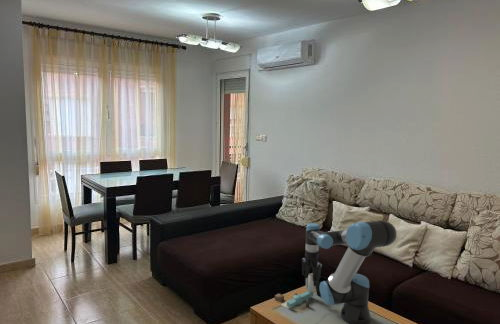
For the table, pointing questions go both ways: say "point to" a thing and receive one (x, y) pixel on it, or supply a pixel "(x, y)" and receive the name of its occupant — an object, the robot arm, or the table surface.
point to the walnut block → (279, 297)
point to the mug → (319, 285)
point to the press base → (300, 307)
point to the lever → (302, 297)
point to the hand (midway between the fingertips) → (310, 289)
